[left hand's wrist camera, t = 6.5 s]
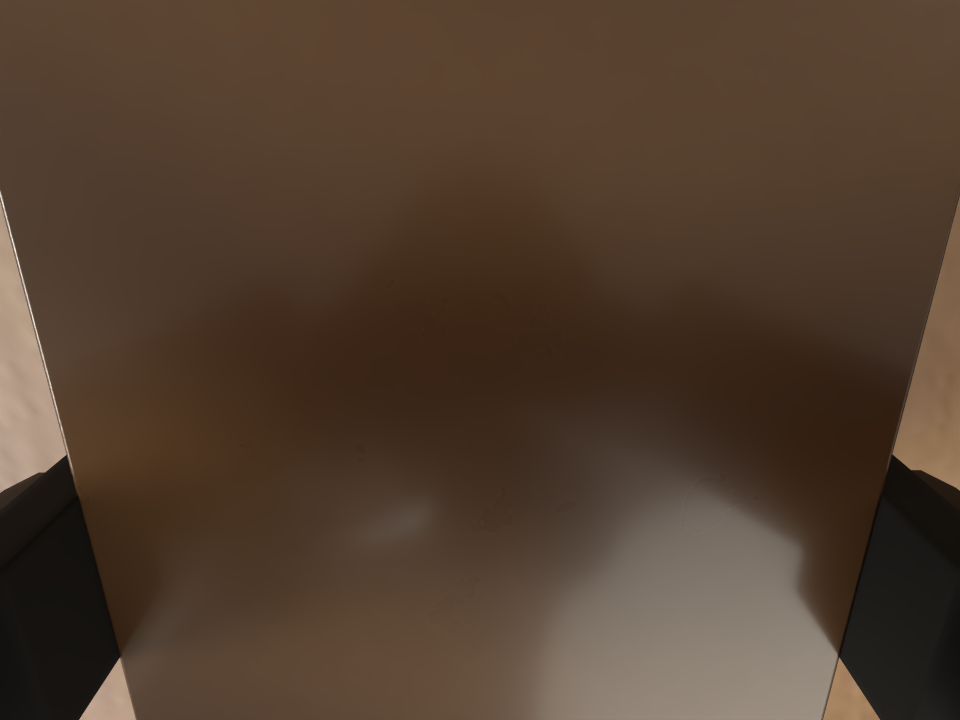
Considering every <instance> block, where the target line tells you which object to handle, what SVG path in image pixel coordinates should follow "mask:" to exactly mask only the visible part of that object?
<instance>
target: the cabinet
mask: <svg viewBox="0 0 960 720" xmlns="http://www.w3.org/2000/svg"><path fill="white" fill-rule="evenodd" d="M959 196H960V0H0V202H1V205H2V209H3V213H4V217H5V221H6V225H7V228H8V232H9V236H10V240H11V244H12V247H13V251H14V255H15V259H16V263H17V267H18V270H19V274H20V278H21V282H22V286H23V289H24V293H25V297H26V301H27V305H28V309H29V312H30V316H31V320H32V324H33V328H34V331H35V335H36V339H37V343H38V347H39V351H40V354H41V358H42V362H43V366H44V370H45V373H46V377H47V381H48V385H49V389H50V392H51V396H52V400H53V404H54V408H55V412H56V415H57V419H58V423H59V427H60V431H61V434H62V438H63V442H64V446H65V450H66V454H67V457H68V461H69V465H70V469H71V473H72V476H73V480H74V484H75V488H76V492H77V496H78V499H79V503H80V507H81V511H82V515H83V518H84V522H85V526H86V530H87V534H88V538H89V541H90V545H91V549H92V553H93V557H94V560H95V564H96V568H97V572H98V576H99V580H100V583H101V587H102V591H103V595H104V599H105V602H106V606H107V610H108V614H109V618H110V622H111V625H112V629H113V633H114V637H115V641H116V644H117V648H118V652H119V656H120V660H121V664H122V667H123V671H124V675H125V679H126V683H127V686H128V690H129V694H130V698H131V702H132V706H133V709H134V713H135V717H136V720H823V717H824V713H825V710H826V706H827V702H828V698H829V694H830V690H831V687H832V683H833V679H834V675H835V671H836V667H837V664H838V660H839V656H840V652H841V648H842V644H843V641H844V637H845V633H846V629H847V625H848V621H849V618H850V614H851V610H852V606H853V602H854V598H855V595H856V591H857V587H858V583H859V579H860V575H861V572H862V568H863V564H864V560H865V556H866V552H867V549H868V545H869V541H870V537H871V533H872V529H873V526H874V522H875V518H876V514H877V510H878V506H879V503H880V499H881V495H882V491H883V487H884V483H885V480H886V476H887V472H888V468H889V464H890V460H891V457H892V453H893V449H894V445H895V441H896V437H897V434H898V430H899V426H900V422H901V418H902V414H903V411H904V407H905V403H906V399H907V395H908V391H909V388H910V384H911V380H912V376H913V372H914V368H915V365H916V361H917V357H918V353H919V349H920V345H921V342H922V338H923V334H924V330H925V326H926V322H927V319H928V315H929V311H930V307H931V303H932V299H933V296H934V292H935V288H936V284H937V280H938V276H939V273H940V269H941V265H942V261H943V257H944V253H945V250H946V246H947V242H948V238H949V234H950V230H951V227H952V223H953V219H954V215H955V211H956V207H957V204H958V200H959Z"/></svg>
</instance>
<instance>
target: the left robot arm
mask: <svg viewBox="0 0 960 720" xmlns="http://www.w3.org/2000/svg"><path fill="white" fill-rule="evenodd" d="M839 657H840V659H841V660H842V662H843V663H844V665H845V666H846V668H847V669H848V671H849V673H850V674H851V676H852V677H853V679H854V680H855V682H856V683H857V685H858V686H859V688H860V689H861V691H862V692H863V694H864V695H865V697H866V698H867V700H868V702H869V703H870V705H871V706H872V708H873V709H874V711H875V712H876V714H877V715H878V717H879V718H880V720H960V491H959V490H958V489H957V488H955V487H953V486H951V485H949V484H947V483H945V482H943V481H941V480H939V479H937V478H935V477H933V476H931V475H929V474H927V473H925V472H923V471H921V470H910V469H909V468H908V467H907V466H905V465H904V464H903V463H902V462H901V461H899V460H898V459H897V458H896V457H895V456H894V455H892V457H891V460H890V464H889V468H888V472H887V476H886V480H885V483H884V487H883V491H882V495H881V499H880V503H879V506H878V510H877V514H876V518H875V522H874V526H873V529H872V533H871V537H870V541H869V545H868V549H867V552H866V556H865V560H864V564H863V568H862V572H861V575H860V579H859V583H858V587H857V591H856V595H855V598H854V602H853V606H852V610H851V614H850V618H849V621H848V625H847V629H846V633H845V637H844V641H843V644H842V648H841V652H840V656H839ZM119 658H120V656H119V652H118V648H117V644H116V641H115V637H114V633H113V629H112V625H111V622H110V618H109V614H108V610H107V606H106V602H105V599H104V595H103V591H102V587H101V583H100V580H99V576H98V572H97V568H96V564H95V560H94V557H93V553H92V549H91V545H90V541H89V538H88V534H87V530H86V526H85V522H84V518H83V515H82V511H81V507H80V503H79V499H78V496H77V492H76V488H75V484H74V480H73V476H72V473H71V469H70V465H69V461H68V457H67V455H66V456H65V457H63V458H62V459H61V460H60V461H59V462H57V463H56V464H55V465H54V466H53V467H51V468H50V469H49V470H48V471H47V472H45V473H37V474H35V475H33V476H31V477H29V478H27V479H25V480H23V481H21V482H19V483H17V484H15V485H14V486H12V487H10V488H8V489H6V490H4V491H3V492H1V493H0V720H79V719H80V717H81V716H82V714H83V713H84V711H85V710H86V708H87V707H88V705H89V704H90V702H91V700H92V699H93V697H94V696H95V694H96V693H97V691H98V690H99V688H100V687H101V685H102V684H103V682H104V681H105V679H106V678H107V676H108V675H109V673H110V671H111V670H112V668H113V667H114V665H115V664H116V662H117V661H118V659H119Z"/></svg>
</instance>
